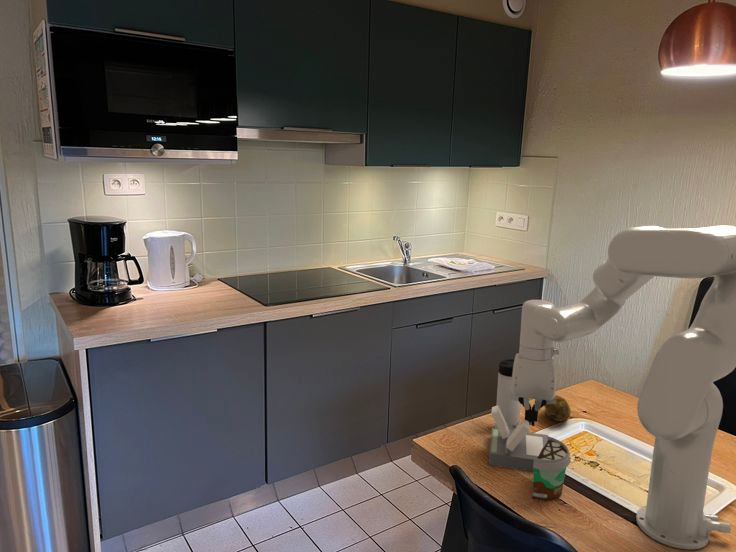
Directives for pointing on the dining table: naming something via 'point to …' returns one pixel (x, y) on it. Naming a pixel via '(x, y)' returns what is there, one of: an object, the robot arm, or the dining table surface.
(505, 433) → the paddle on
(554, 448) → the food container
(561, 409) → the potato
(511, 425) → the travel mug
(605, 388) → the dining table surface
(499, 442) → the panel
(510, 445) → the paddle
